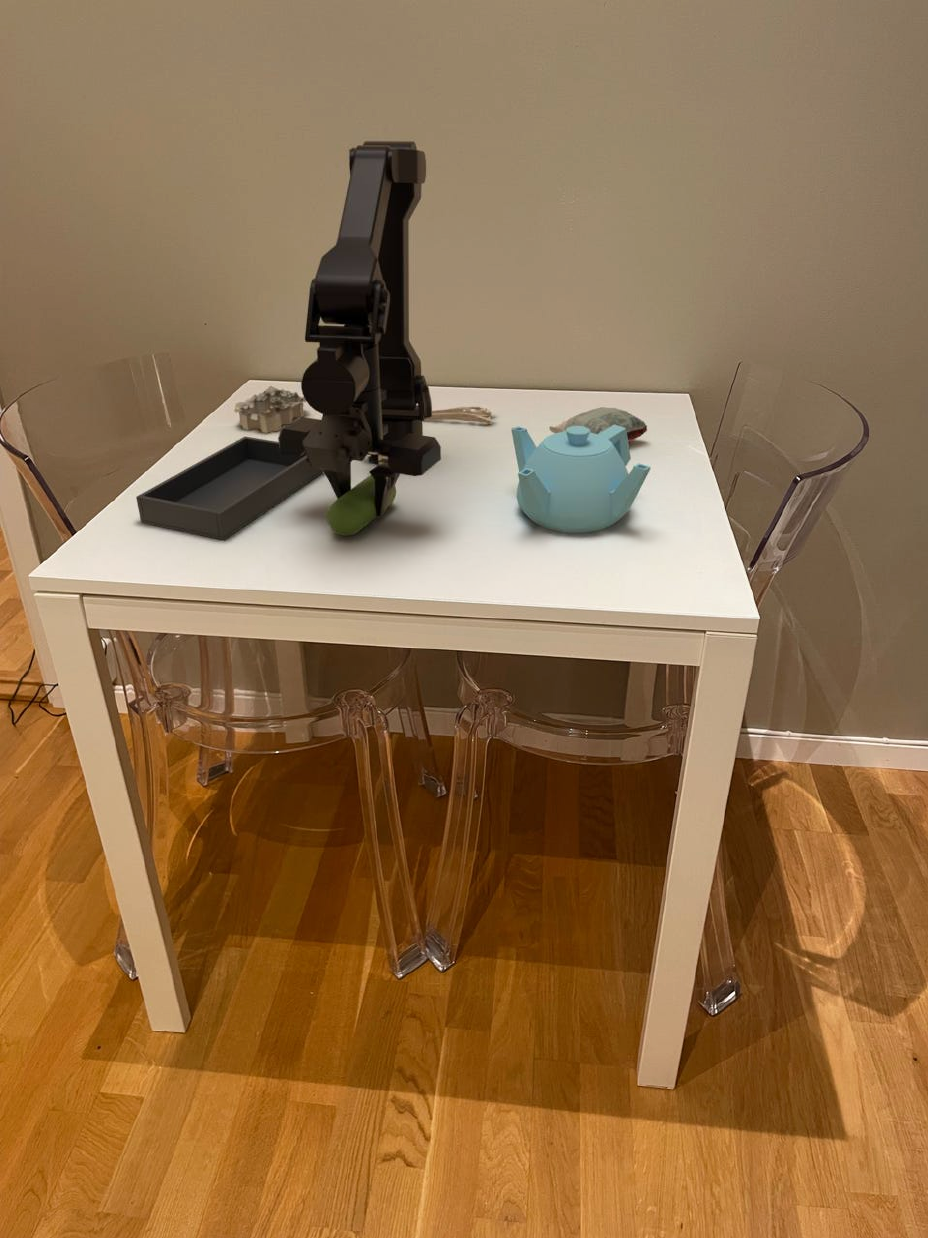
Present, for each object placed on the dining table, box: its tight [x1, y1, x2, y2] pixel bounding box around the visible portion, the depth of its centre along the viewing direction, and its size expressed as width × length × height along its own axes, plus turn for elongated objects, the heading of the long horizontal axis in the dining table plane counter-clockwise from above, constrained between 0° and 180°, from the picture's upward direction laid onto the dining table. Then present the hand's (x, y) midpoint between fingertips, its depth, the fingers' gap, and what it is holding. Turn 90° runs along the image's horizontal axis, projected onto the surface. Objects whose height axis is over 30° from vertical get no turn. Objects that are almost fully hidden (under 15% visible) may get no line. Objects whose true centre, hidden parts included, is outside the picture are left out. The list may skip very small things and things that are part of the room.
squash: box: [326, 474, 397, 537], centre depth 113 cm, size 4×12×4 cm, turn 156°
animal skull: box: [425, 406, 493, 425], centre depth 145 cm, size 18×5×2 cm, turn 86°
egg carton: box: [233, 385, 307, 434], centre depth 144 cm, size 11×8×4 cm
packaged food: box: [549, 406, 648, 443], centre depth 135 cm, size 9×12×5 cm
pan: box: [135, 436, 324, 541], centre depth 120 cm, size 12×22×3 cm, turn 156°
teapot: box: [511, 424, 651, 534], centre depth 113 cm, size 15×15×11 cm
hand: (363, 512), depth 114 cm, fingers closed on squash, 4 cm apart
